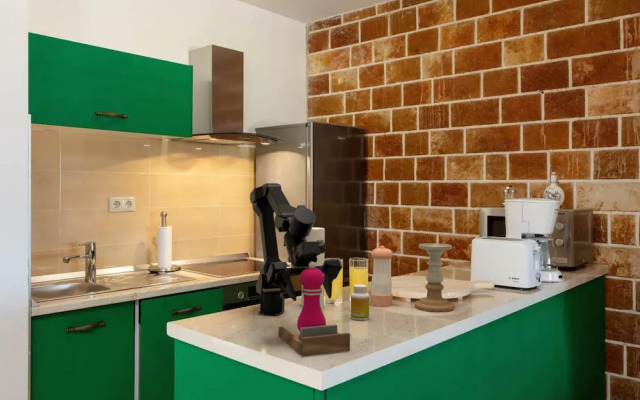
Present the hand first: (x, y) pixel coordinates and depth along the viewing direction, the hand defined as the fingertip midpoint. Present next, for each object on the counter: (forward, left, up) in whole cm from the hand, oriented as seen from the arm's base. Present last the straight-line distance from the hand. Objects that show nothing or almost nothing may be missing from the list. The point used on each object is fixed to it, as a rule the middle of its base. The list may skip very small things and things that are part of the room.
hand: (313, 298), depth 134 cm
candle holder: (+29, +48, -11) cm, 57 cm away
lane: (-1, +1, -11) cm, 11 cm away
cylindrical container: (-9, +40, -11) cm, 42 cm away
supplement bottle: (+8, +28, -11) cm, 31 cm away
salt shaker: (+12, +49, -11) cm, 51 cm away
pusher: (+2, -3, -11) cm, 12 cm away
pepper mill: (-1, +1, -11) cm, 11 cm away
